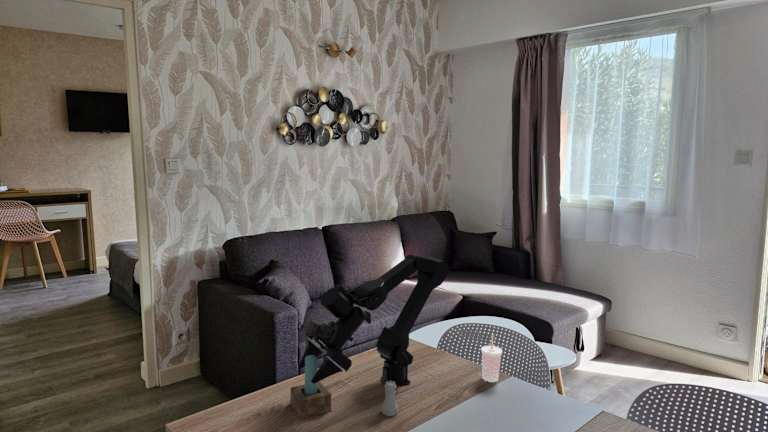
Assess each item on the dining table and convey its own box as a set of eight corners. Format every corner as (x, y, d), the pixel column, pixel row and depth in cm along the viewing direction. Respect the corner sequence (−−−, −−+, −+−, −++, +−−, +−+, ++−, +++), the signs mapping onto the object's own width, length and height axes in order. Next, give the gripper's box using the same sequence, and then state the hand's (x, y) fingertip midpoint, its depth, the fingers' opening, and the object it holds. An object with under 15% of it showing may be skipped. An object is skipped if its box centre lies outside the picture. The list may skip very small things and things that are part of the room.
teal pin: (314, 400, 133) (314, 354, 131) (318, 406, 130) (319, 359, 128) (302, 403, 131) (303, 356, 129) (307, 409, 129) (307, 361, 126)
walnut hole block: (319, 396, 136) (319, 381, 136) (331, 410, 129) (331, 394, 129) (290, 403, 132) (290, 387, 132) (301, 418, 125) (301, 401, 125)
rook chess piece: (396, 418, 127) (397, 387, 125) (379, 415, 127) (380, 385, 126) (399, 409, 131) (400, 379, 130) (382, 406, 132) (383, 377, 131)
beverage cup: (504, 382, 147) (506, 336, 145) (483, 383, 146) (486, 337, 144) (496, 373, 153) (498, 329, 151) (476, 374, 152) (479, 329, 150)
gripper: (311, 298, 137) (272, 344, 133) (340, 320, 121) (296, 373, 117) (338, 322, 142) (300, 367, 138) (369, 345, 126) (327, 397, 122)
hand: (305, 375), depth 129 cm, fingers open, 9 cm apart
